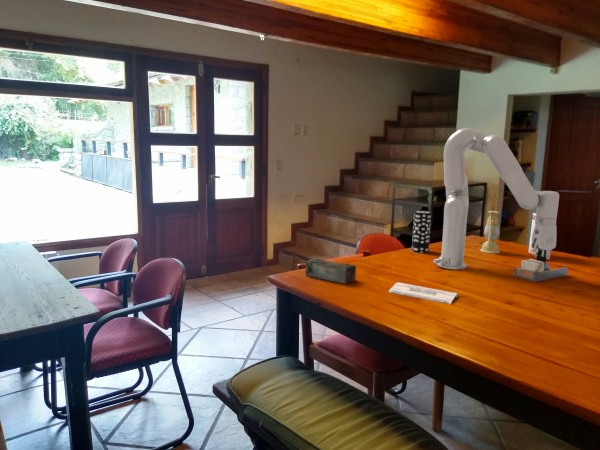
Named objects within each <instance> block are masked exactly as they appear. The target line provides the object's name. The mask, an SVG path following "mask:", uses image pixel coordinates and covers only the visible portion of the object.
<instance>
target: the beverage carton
mask: <svg viewBox="0 0 600 450" xmlns="http://www.w3.org/2000/svg"><path fill="white" fill-rule="evenodd" d="M356 272H357V266H356V265H354V264H350V263H343V262H342V263H341V262H337V261H336V262H335V261H330V260H324V259H320V258H314V259H309V260H308V261H306V262H305V276H306V277H312V278H316V279H319V280H325V281H331V282H335V283H340V284H344V285H347V284H348V283H351V282H354V281H356V275H357V274H356Z"/></svg>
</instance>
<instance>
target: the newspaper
mask: <svg viewBox="0 0 600 450" xmlns="http://www.w3.org/2000/svg"><path fill="white" fill-rule="evenodd" d="M388 293H389V294H395V295H401V296H405V297H410V298H415V299H421V300H426V301H430V302H431V301H432V302H435V303H436V302H437V303H442V304H447V305H452V302H453V301H454V299H455V298H458V295H459V292H458V293H457V292H452V291H446V290H441V289H436V288H430V287H425V286H420V285H414V284H410V283H403V282H398V281H397V282H396V283H395V284H393V286H392V287H391V288H390V289H389V290H388Z"/></svg>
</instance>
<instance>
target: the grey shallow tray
mask: <svg viewBox="0 0 600 450" xmlns="http://www.w3.org/2000/svg"><path fill="white" fill-rule="evenodd" d="M550 265H551V264H550V263H549V262H546V264H545V266H544V270H543V272H537V273H533V272H529V271H525V270H522V269H521V266H520V267H515V268H514V273H513V276H514V277H516V278H520V279H523V280H526V281H530V282H533V283H535V282H541V281H545V280H546V281H547V280H551V279H556V278H561V277H565V276H568V271H569V267H567V266H566V267H565V266H564V267H560V268H554V269H552V268H550Z"/></svg>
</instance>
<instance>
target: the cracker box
mask: <svg viewBox="0 0 600 450" xmlns="http://www.w3.org/2000/svg"><path fill="white" fill-rule="evenodd" d="M531 219H532V220H531V228H530V236H529V244H528V253H527V254H529V255H531V256H533V257H534V258H537V255H536V252H533V248H532V246H531V242H532V235H533V230H534V227H535V225H536V224H535V219H536V212H533V213H532V218H531ZM551 254H552V249H551V250H550V251H549V252H548V255H547V256H546V261H547V260H548V261H550V260H551V256H552V255H551Z"/></svg>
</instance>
